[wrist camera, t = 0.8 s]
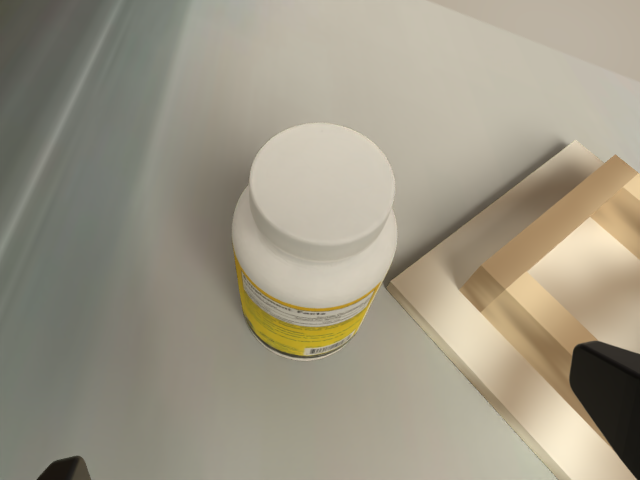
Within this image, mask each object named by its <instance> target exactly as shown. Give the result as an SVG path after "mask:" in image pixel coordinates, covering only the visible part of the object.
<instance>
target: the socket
mask: <svg viewBox="0 0 640 480" xmlns="http://www.w3.org/2000/svg"><path fill="white" fill-rule="evenodd" d="M386 289H387V290H388V291H389V292H390V294H391V295H392V296H393V297H394V298H395V299H396V300H397V301H398V302H399V304H400V305H401V306H402V307H403V308H404V309H405V310H406V311H407V312H408V314H409V315H410V316H411V317H412V318H413V319H414V320H415V321H416V322H417V323H418V325H419V326H420V327H421V328H422V329H423V330H424V331H425V332H426V333H427V335H428V336H429V337H430V338H431V339H432V340H433V341H434V342H435V343H436V344H437V346H438V347H439V348H440V349H441V350H442V351H443V352H444V353H445V354H446V356H447V357H448V358H449V359H450V360H451V361H452V362H453V363H454V364H455V365H456V367H457V368H458V369H459V370H460V371H461V372H462V373H463V374H464V375H465V377H466V378H467V379H468V380H469V381H470V382H471V383H472V384H473V385H474V387H475V388H476V389H477V390H478V391H479V392H480V393H481V394H482V395H483V396H484V398H485V399H486V400H487V401H488V402H489V403H490V404H491V405H492V406H493V408H494V409H495V410H496V411H497V412H498V413H499V414H500V415H501V416H502V417H503V419H504V420H505V421H506V422H507V423H508V424H509V425H510V426H511V427H512V429H513V430H514V431H515V432H516V433H517V434H518V435H519V436H520V437H521V438H522V440H523V441H524V442H525V443H526V444H527V445H528V446H529V447H530V448H531V450H532V451H533V452H534V453H535V454H536V455H537V456H538V457H539V458H540V460H541V461H542V462H543V463H544V464H545V465H546V466H547V467H548V468H549V469H550V471H551V472H552V473H553V474H554V475H555V476H556V477H557V478H558V479H559V480H637V479H636V478H635V477H634V476H633V474H632V473H631V472H630V471H629V470H628V468H627V467H626V466H625V465H624V463H623V462H622V461H621V459H620V458H619V457H618V455H617V454H616V453H615V451H614V450H613V449H612V447H611V446H610V444H609V443H608V441H607V440H606V439H605V437H604V436H603V434H602V433H601V431H600V430H599V429H598V427H597V426H596V424H595V423H594V421H593V420H592V419H591V417H590V416H589V414H588V413H587V411H586V410H585V409H584V407H583V406H582V404H581V403H580V401H579V400H578V399H577V397H576V396H575V394H574V393H573V391H572V389H571V387H570V383H569V374H570V367H571V360H572V353H573V349H574V347H575V346H576V345H577V344H580V343H584V342H589V341H601V342H604V343H607V344H610V345H613V346H616V347H619V348H623V349H626V350H629V351H632V352H635V353H638V354H640V174H639V173H638V172H637V171H635V170H634V169H633V168H632V167H630V166H629V165H628V164H627V163H625V162H624V161H623V160H622V159H620V158H619V157H618V156H617V155H614V156H613V157H612V158H610V159H609V160H608V161H607V162H606V163H603V162H602V161H601V160H600V159H598V158H597V157H596V156H595V155H594V154H592V153H591V152H590V151H589V150H587V149H586V148H585V147H584V146H583V145H581V144H580V143H579V142H578V141H576V140H575V141H573V142H572V143H571V144H569V145H568V146H567V147H565V148H564V149H563V150H561V151H560V152H559V153H558V154H556V155H555V156H554V157H552V158H551V159H550V160H548V161H547V162H546V163H544V164H543V165H542V166H541V167H539V168H538V169H537V170H535V171H534V172H533V173H531V174H530V175H529V176H527V177H526V178H525V179H524V180H522V181H521V182H520V183H518V184H517V185H516V186H514V187H513V188H512V189H510V190H509V191H508V192H506V193H505V194H504V195H503V196H501V197H500V198H499V199H497V200H496V201H495V202H493V203H492V204H491V205H489V206H488V207H487V208H486V209H484V210H483V211H482V212H480V213H479V214H478V215H476V216H475V217H474V218H472V219H471V220H470V221H469V222H467V223H466V224H465V225H463V226H462V227H461V228H459V229H458V230H457V231H455V232H454V233H453V234H452V235H450V236H449V237H448V238H446V239H445V240H444V241H442V242H441V243H440V244H438V245H437V246H436V247H434V248H433V249H432V250H431V251H429V252H428V253H427V254H425V255H424V256H423V257H421V258H420V259H419V260H417V261H416V262H415V263H414V264H412V265H411V266H410V267H408V268H407V269H406V270H404V271H403V272H402V273H400V274H399V275H398V276H397V277H395V278H394V279H393V280H391V281H390V283H389V285H388V286H387V288H386Z"/></svg>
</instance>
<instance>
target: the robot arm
mask: <svg viewBox="0 0 640 480" xmlns="http://www.w3.org/2000/svg"><path fill="white" fill-rule="evenodd" d="M569 383H570V387H571V389H572V391H573V393H574V394H575V396H576V397H577V399H578V400H579V401H580V403H581V404H582V406H583V407H584V409H585V410H586V411H587V413H588V414H589V416H590V417H591V419H592V420H593V421H594V423H595V424H596V426H597V427H598V429H599V430H600V431H601V433H602V434H603V436H604V437H605V439H606V440H607V441H608V443H609V444H610V446H611V447H612V449H613V450H614V451H615V453H616V454H617V455H618V457H619V458H620V459H621V461H622V462H623V463H624V465H625V466H626V467H627V468H628V470H629V471H630V472H631V473H632V474H633V476H634V477H635V478H636V479H637V480H640V354H638V353H635V352H632V351H629V350H626V349H623V348H619V347H616V346H613V345H610V344H607V343H604V342H601V341H589V342H584V343H580V344H577V345H576V346H575V347H574V349H573V353H572V360H571V367H570V374H569ZM37 480H91V478H90V475H89V472H88V469H87V466H86V463H85V461H84V459H83V458H82V457H80V456H73V457H69V458H64V459H60V460H56V461H54V462H53V463H51V464H50V465H49V466H48V467H47V469H46V470H45V471H44V472H43V473H42V474H41V475H40V476H39V477H38V479H37Z"/></svg>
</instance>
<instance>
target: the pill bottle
mask: <svg viewBox="0 0 640 480" xmlns="http://www.w3.org/2000/svg"><path fill="white" fill-rule="evenodd" d="M394 198H395V178H394V174H393V171H392V168H391V165H390V163H389V161H388V159H387V158H386V156H385V155H384V153H383V152H382V151H381V150H380V148H379V147H378V146H377V145H376V144H374V143H373V142H372V141H371V140H370V139H368V138H367V137H365V136H364V135H362V134H360V133H359V132H357V131H355V130H352V129H350V128H347V127H344V126H340V125H336V124H331V123H307V124H301V125H297V126H293V127H291V128H288V129H286V130H283V131H282V132H280V133H278V134H276V135H275V136H274V137H272V138H271V139H269V140H268V141H267V142H266V143H265V144H264V145H263V146H262V148H261V149H260V150H259V152H258V153H257V155H256V156H255V159H254V161H253V163H252V166H251V170H250V175H249V184H248V185H247V187H246V188H245V190H244V191H243V193H242V194H241V196H240V198H239V199H238V202H237V205H236V207H235V210H234V215H233V221H232V244H233V251H234V257H235V265H236V271H237V278H238V285H239V292H240V297H241V304H242V309H243V313H244V317H245V320H246V323H247V325H248V327H249V329H250V330H251V332H252V333H253V335H254V336H255V337H256V339H257V340H258V341H259V342H260V343H261V344H262V345H263V346H265V347H266V348H267V349H268V350H270V351H272V352H273V353H275V354H277V355H279V356H282V357H285V358H288V359H293V360H299V361H310V360H317V359H321V358H324V357H327V356H329V355H332V354H334V353H335V352H337V351H339V350H340V349H342V348H343V347H344V346H345V345H347V344H348V343H349V342H350V341H351V339H352V338H353V337H354V336H355V334H356V333H357V331H358V329H359V327H360V326H361V324H362V322H363V320H364V318H365V316H366V314H367V312H368V310H369V308H370V306H371V304H372V302H373V300H374V298H375V296H376V294H377V292H378V290H379V288H380V286H381V284H382V282H383V280H384V278H385V276H386V274H387V272H388V270H389V268H390V266H391V264H392V261H393V258H394V255H395V251H396V246H397V223H396V218H395V214H394V211H393V209H392V206H393V203H394Z"/></svg>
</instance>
